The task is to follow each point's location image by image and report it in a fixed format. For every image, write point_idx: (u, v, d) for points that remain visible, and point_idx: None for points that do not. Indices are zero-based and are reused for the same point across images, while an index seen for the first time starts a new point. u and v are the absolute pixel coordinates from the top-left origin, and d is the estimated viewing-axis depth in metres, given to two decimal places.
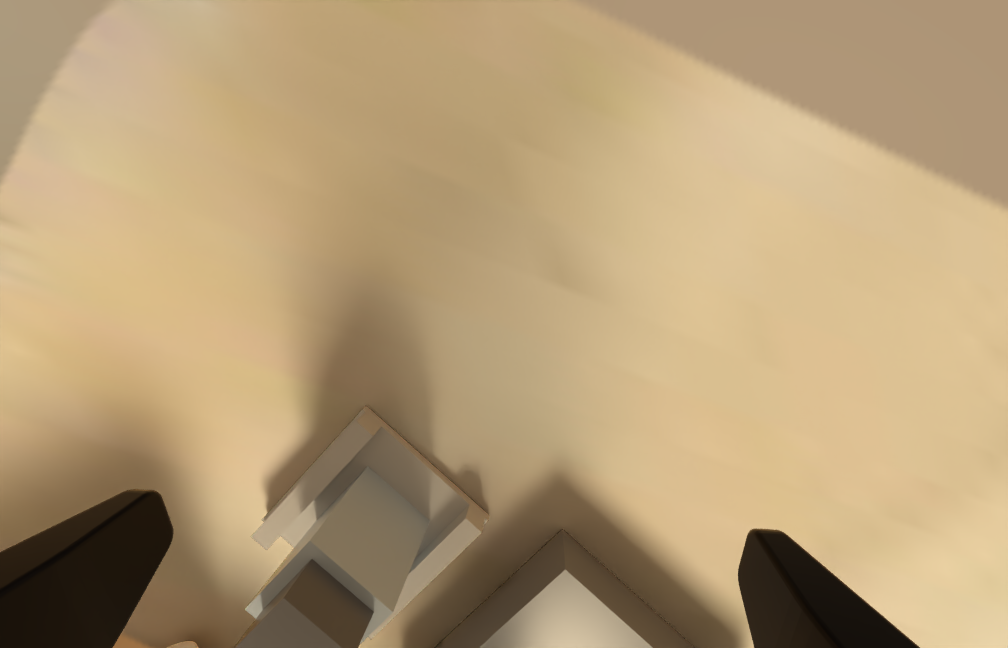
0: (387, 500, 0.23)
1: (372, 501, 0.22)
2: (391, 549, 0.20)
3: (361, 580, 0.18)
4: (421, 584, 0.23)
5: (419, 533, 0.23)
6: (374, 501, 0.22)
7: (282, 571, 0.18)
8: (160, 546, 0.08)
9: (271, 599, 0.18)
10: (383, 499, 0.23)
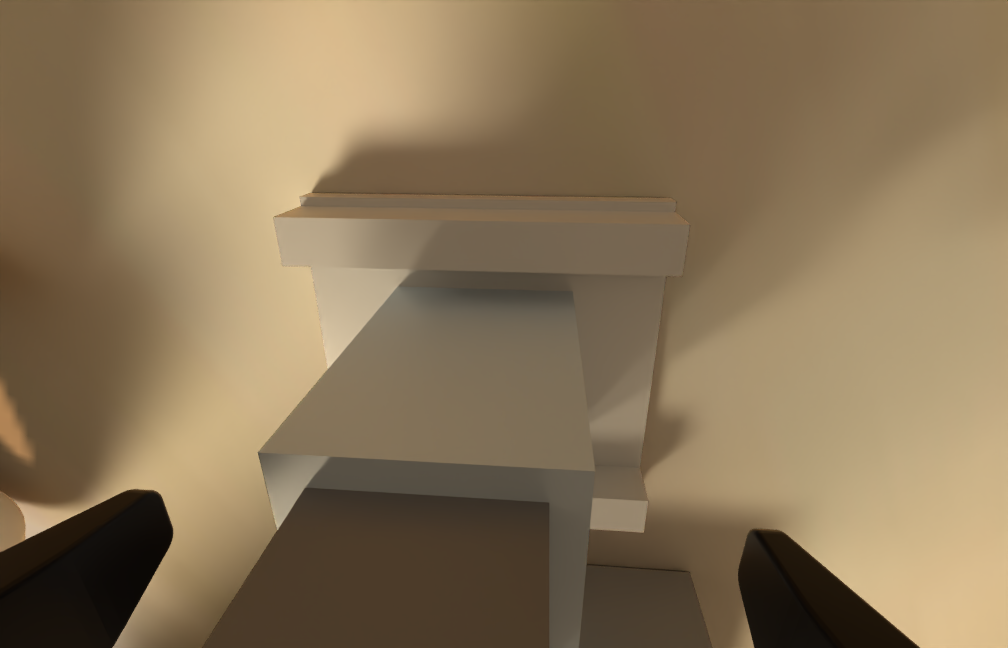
0: None
1: None
2: None
3: (581, 601, 0.07)
4: None
5: None
6: None
7: (447, 466, 0.06)
8: (160, 546, 0.08)
9: (353, 490, 0.06)
10: None
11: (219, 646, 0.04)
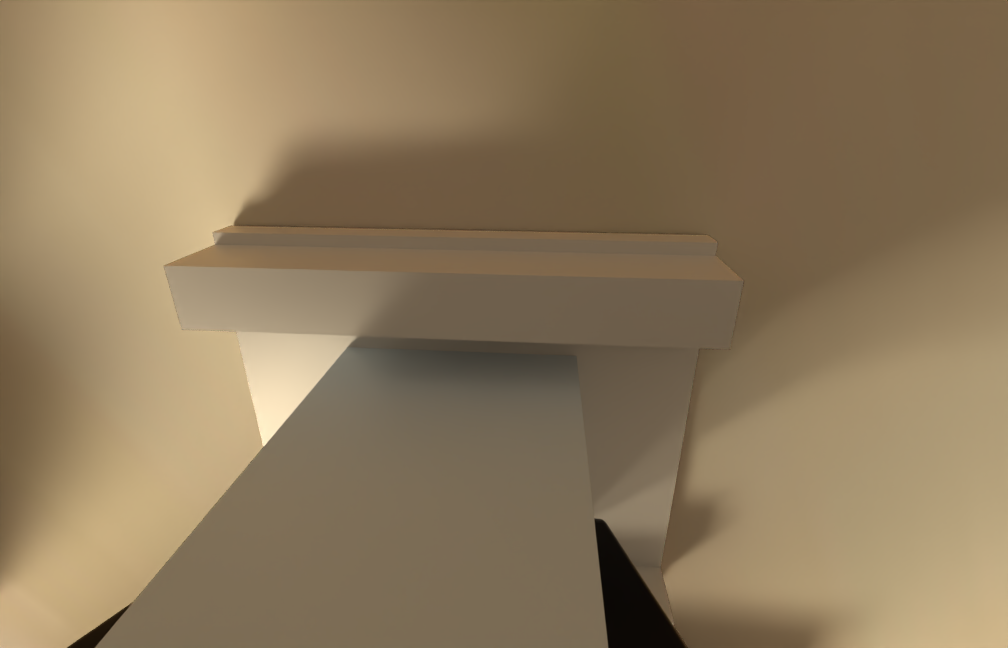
0: None
1: None
2: None
3: None
4: None
5: None
6: None
7: None
8: None
9: None
10: None
11: None
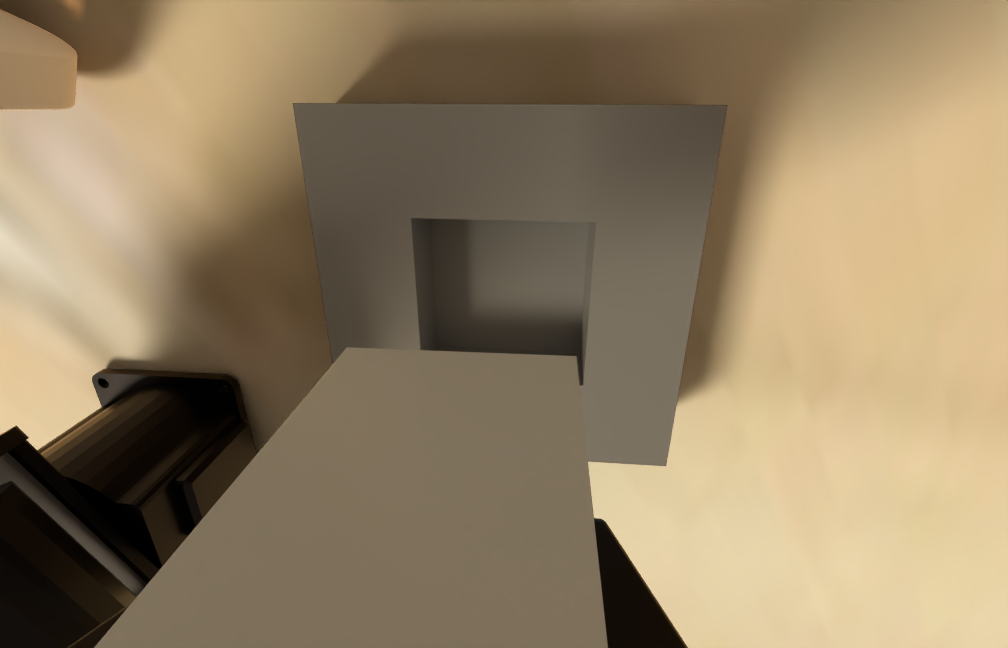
0: None
1: None
2: None
3: None
4: None
5: None
6: None
7: None
8: None
9: None
10: None
11: None
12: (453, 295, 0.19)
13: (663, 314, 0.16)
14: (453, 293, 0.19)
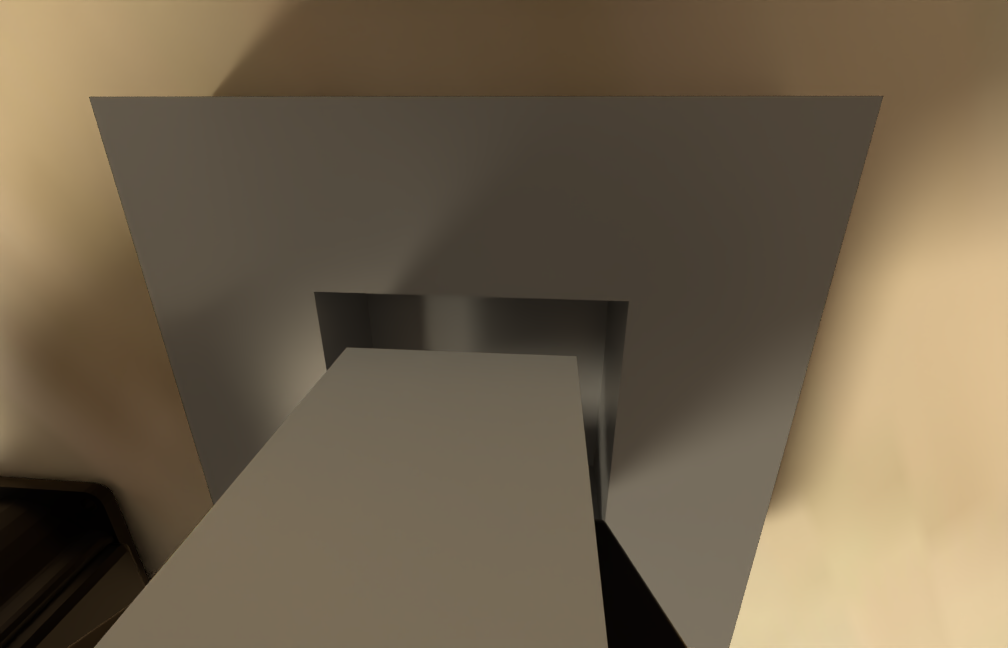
0: None
1: None
2: None
3: None
4: None
5: None
6: None
7: None
8: None
9: None
10: None
11: None
12: None
13: (737, 445, 0.09)
14: None
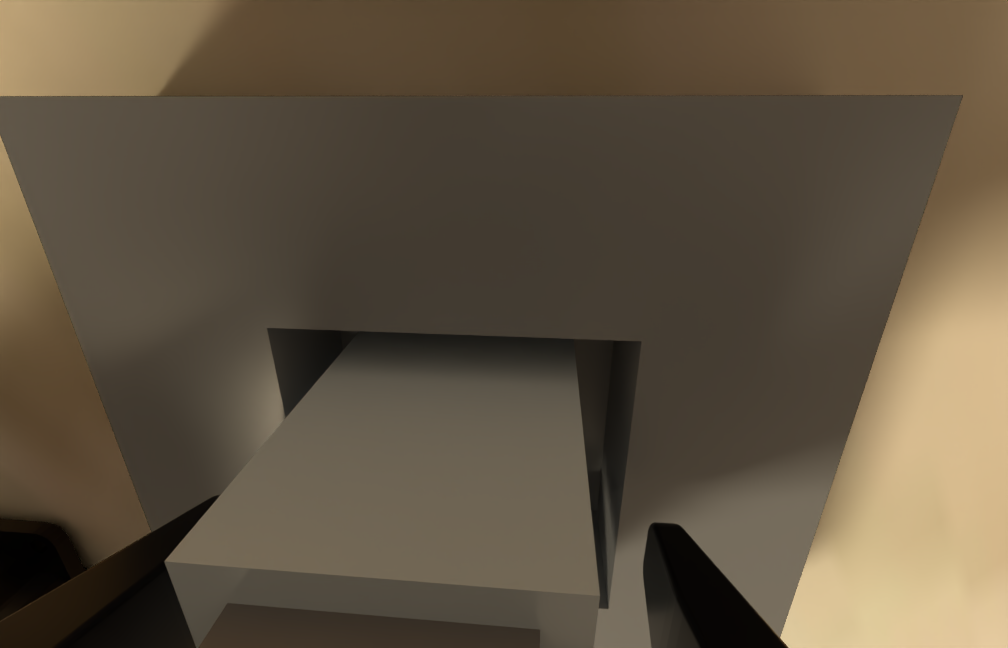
0: None
1: None
2: None
3: None
4: None
5: None
6: None
7: (407, 584, 0.04)
8: None
9: (287, 609, 0.05)
10: None
11: None
12: None
13: (768, 505, 0.08)
14: None
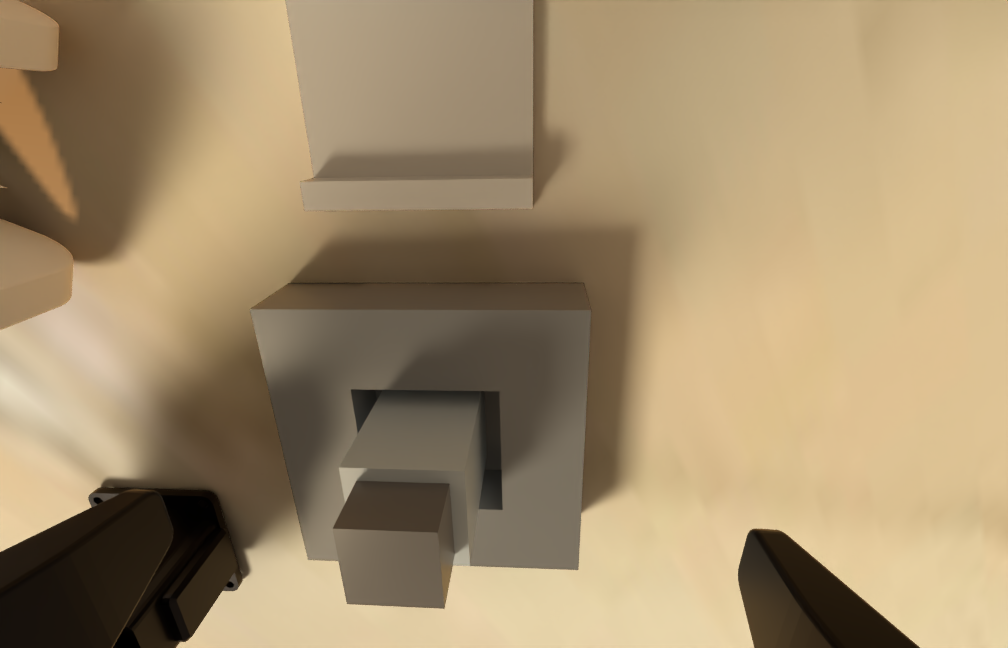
0: (482, 426, 0.21)
1: (480, 425, 0.20)
2: (477, 488, 0.19)
3: (468, 525, 0.16)
4: (416, 204, 0.17)
5: (483, 470, 0.21)
6: (480, 425, 0.20)
7: (410, 470, 0.16)
8: (160, 546, 0.08)
9: (375, 481, 0.16)
10: (482, 424, 0.20)
11: (338, 527, 0.14)
12: None
13: (561, 456, 0.19)
14: None
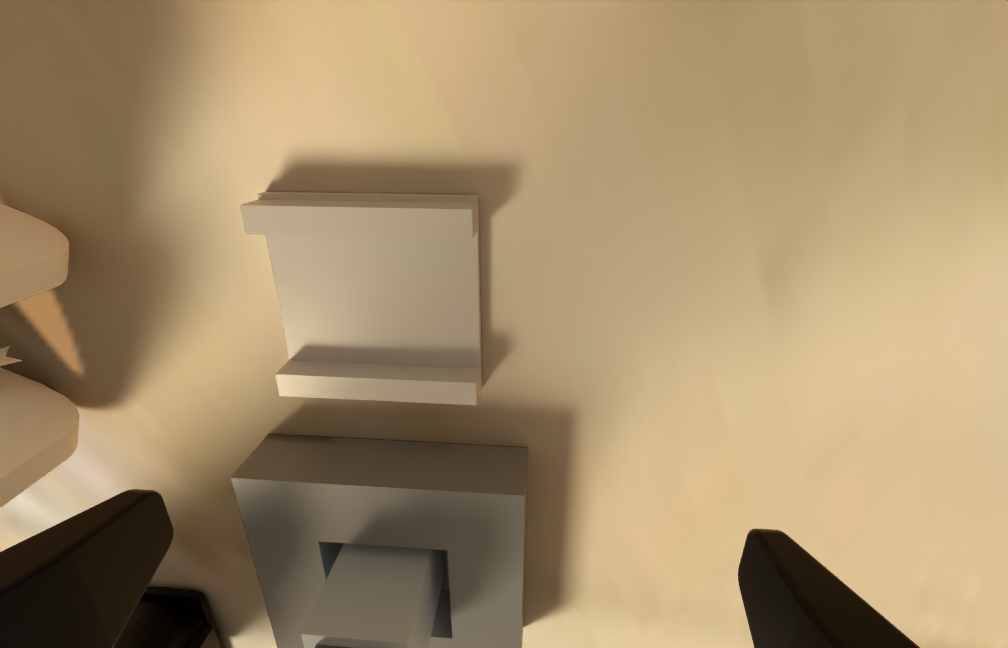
0: (437, 563, 0.23)
1: (432, 568, 0.22)
2: (427, 629, 0.22)
3: None
4: (376, 396, 0.20)
5: (437, 598, 0.24)
6: (433, 568, 0.22)
7: (361, 640, 0.18)
8: (160, 546, 0.08)
9: (331, 646, 0.18)
10: (436, 562, 0.23)
11: None
12: None
13: (502, 601, 0.22)
14: None
